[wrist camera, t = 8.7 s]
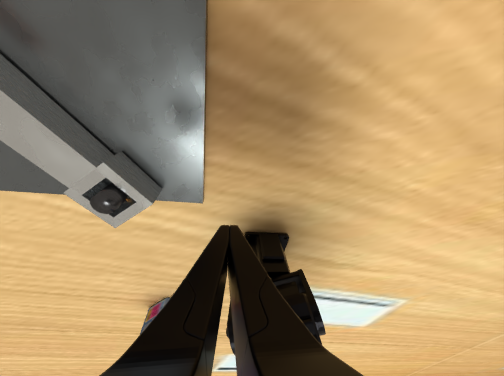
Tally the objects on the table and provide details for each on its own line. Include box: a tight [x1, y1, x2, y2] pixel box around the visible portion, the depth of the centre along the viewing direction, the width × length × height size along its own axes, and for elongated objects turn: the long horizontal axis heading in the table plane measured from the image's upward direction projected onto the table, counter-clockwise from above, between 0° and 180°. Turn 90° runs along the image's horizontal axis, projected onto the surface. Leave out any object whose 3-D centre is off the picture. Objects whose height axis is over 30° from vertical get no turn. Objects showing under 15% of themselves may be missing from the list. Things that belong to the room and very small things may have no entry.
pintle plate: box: [0, 0, 207, 214], centre depth 13 cm, size 19×22×5 cm
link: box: [0, 54, 162, 228], centre depth 15 cm, size 18×5×3 cm, turn 31°
